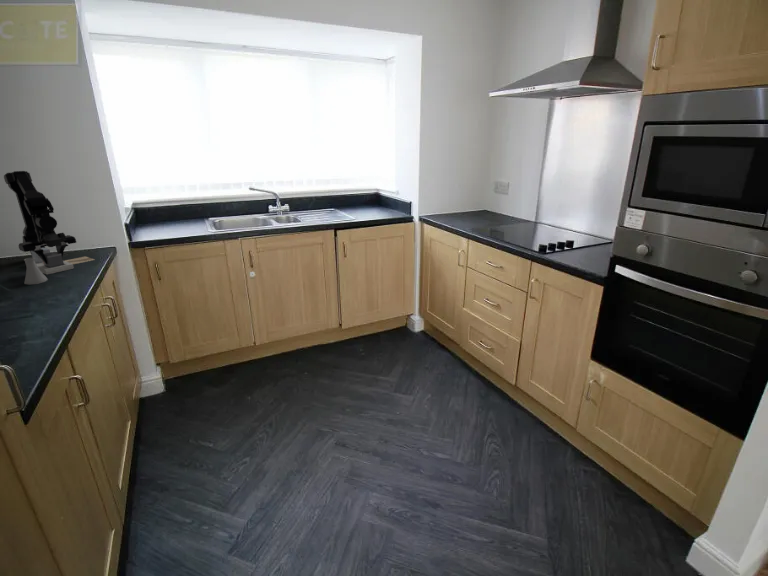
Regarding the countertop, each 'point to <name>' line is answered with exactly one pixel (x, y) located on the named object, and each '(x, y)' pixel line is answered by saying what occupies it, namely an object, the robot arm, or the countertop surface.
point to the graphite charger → (53, 259)
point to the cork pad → (79, 260)
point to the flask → (33, 273)
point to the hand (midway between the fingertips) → (53, 262)
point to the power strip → (54, 268)
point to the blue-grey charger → (37, 258)
